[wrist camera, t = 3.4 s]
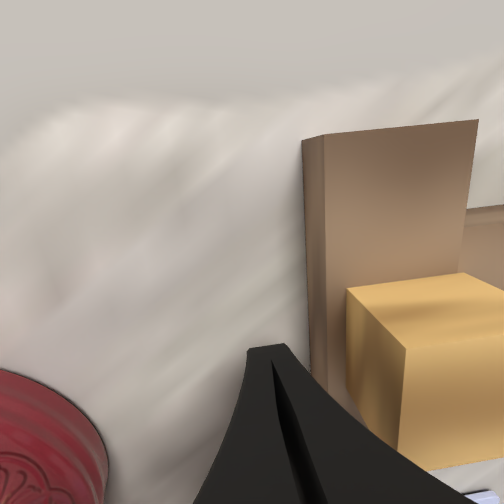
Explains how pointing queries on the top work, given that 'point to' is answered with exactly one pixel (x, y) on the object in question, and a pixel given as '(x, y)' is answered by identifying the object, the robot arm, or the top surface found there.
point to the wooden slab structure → (388, 225)
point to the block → (429, 367)
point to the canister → (47, 448)
